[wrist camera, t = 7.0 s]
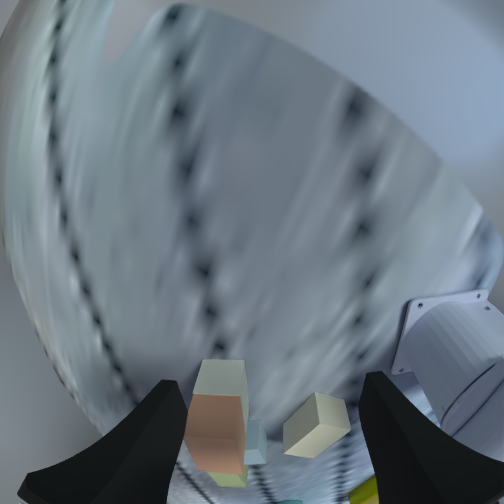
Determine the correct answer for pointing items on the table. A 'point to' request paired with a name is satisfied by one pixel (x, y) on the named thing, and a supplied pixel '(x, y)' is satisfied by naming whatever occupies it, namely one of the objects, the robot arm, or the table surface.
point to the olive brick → (231, 478)
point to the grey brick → (224, 381)
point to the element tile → (365, 493)
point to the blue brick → (255, 443)
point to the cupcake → (290, 502)
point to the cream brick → (315, 426)
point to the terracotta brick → (216, 433)
